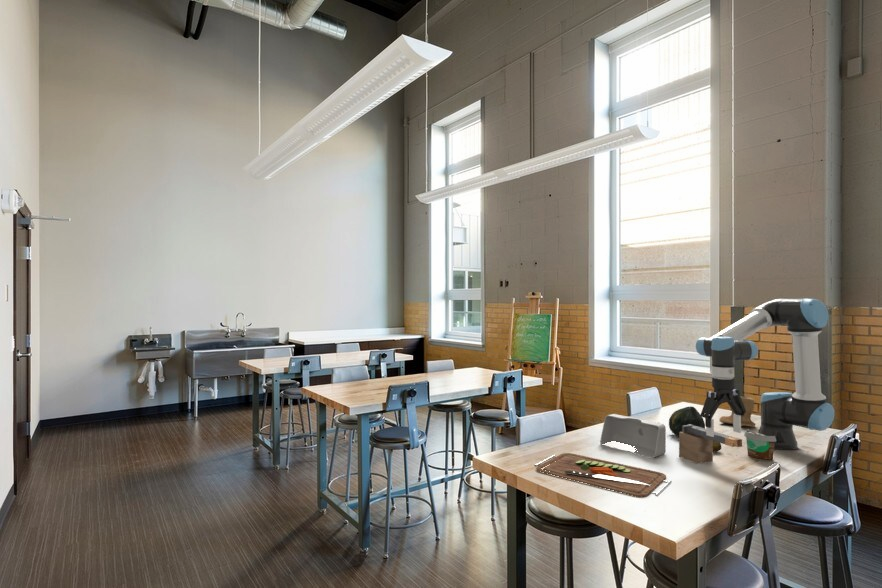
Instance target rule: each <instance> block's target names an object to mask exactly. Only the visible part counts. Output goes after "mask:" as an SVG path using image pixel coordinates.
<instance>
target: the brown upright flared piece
mask: <svg viewBox="0 0 882 588" xmlns="http://www.w3.org/2000/svg"><path fill="white" fill-rule="evenodd" d="M732 397H733V396H732ZM740 397H741V399H742V402H743V405H744V407H745V410H746V413H744V416H742V422H741V427H755V426H756V423H755V422H754V421H752V420H751V417H752V414H753V413H754V412H753V411H754V410H755V400H754V398H752V397H749V396H748V397H746V396H741V395H740ZM730 408H731V407H730ZM733 414H735V413H734V411H733V410H732V408H731V415H729V416H728V415H727V416H721V417H719V422H720V423H722V424H726V425H732V426H733Z"/></svg>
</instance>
